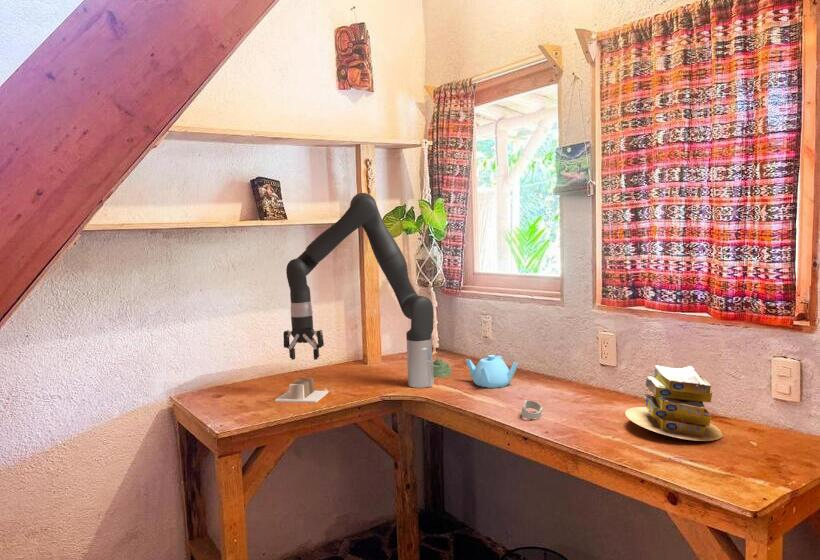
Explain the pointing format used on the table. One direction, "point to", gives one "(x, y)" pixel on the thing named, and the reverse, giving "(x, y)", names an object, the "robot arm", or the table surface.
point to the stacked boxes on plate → (677, 405)
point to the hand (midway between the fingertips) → (304, 359)
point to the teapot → (491, 372)
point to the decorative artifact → (441, 368)
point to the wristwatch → (531, 405)
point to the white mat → (311, 398)
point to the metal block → (301, 388)
